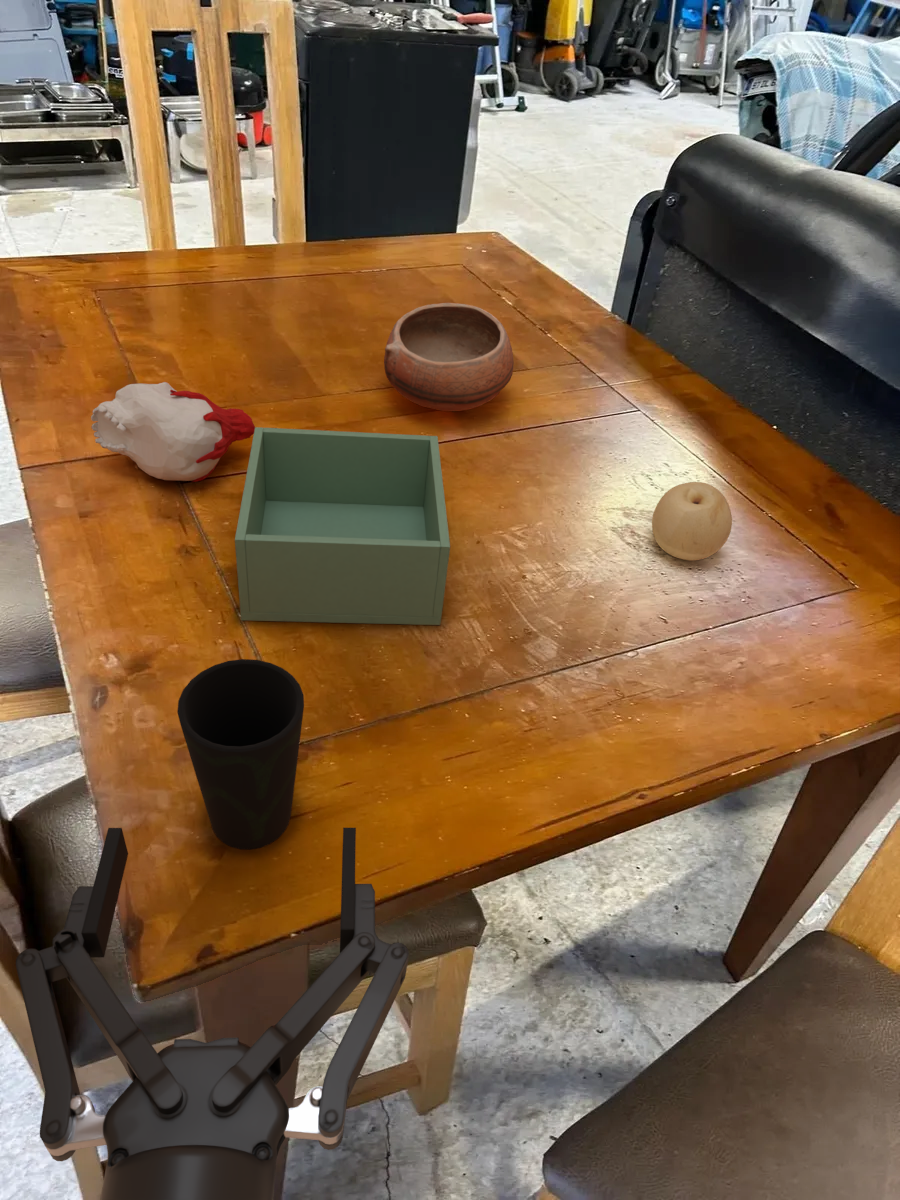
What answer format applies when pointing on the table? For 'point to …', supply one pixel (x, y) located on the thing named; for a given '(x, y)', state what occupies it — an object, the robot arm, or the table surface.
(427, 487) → the open storage box
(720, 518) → the apple
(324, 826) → the table surface
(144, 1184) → the robot arm
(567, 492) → the table surface
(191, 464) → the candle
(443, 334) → the bowl
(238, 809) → the cup
